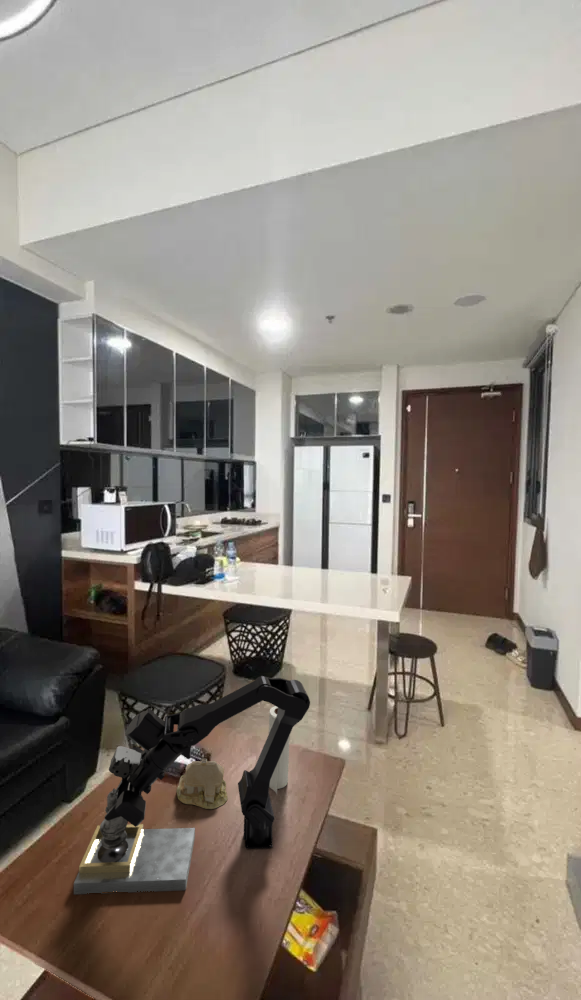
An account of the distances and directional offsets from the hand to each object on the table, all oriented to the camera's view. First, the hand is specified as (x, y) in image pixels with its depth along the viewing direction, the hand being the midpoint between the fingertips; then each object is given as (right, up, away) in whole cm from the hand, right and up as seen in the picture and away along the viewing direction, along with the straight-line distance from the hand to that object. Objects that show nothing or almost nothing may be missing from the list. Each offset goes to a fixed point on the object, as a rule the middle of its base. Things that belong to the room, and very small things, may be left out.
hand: (107, 811), depth 96 cm
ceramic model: (+17, -11, +22) cm, 30 cm away
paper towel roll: (+37, -11, +27) cm, 47 cm away
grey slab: (+7, -12, +1) cm, 14 cm away
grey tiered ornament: (+1, -7, +1) cm, 7 cm away
